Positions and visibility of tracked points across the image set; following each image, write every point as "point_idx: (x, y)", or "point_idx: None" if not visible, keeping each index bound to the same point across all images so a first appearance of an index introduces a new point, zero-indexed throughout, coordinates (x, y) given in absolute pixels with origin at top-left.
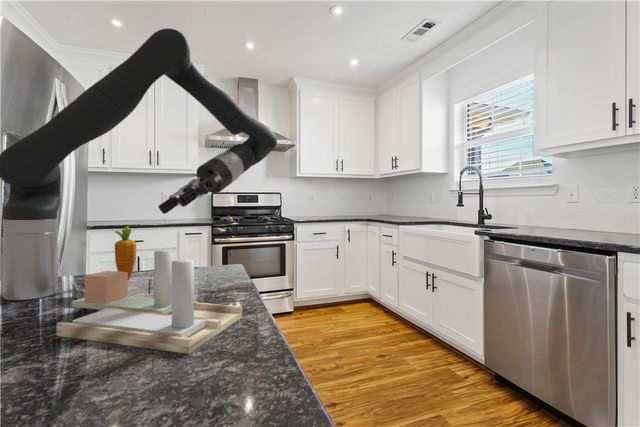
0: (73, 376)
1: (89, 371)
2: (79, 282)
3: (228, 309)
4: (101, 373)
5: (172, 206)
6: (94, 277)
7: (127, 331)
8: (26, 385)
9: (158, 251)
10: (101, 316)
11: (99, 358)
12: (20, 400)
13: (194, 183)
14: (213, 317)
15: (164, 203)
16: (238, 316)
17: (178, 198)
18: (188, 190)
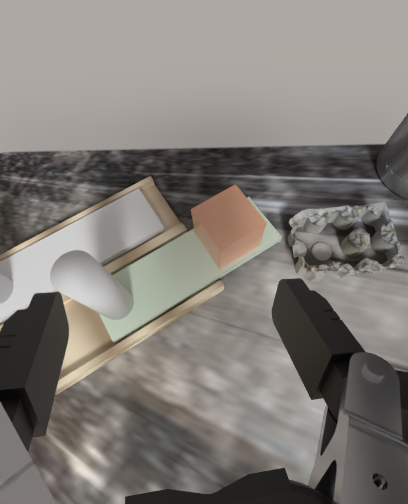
0: (23, 188)
1: (21, 199)
2: (385, 216)
3: None
4: (7, 206)
5: (299, 359)
6: (214, 196)
7: (46, 231)
8: (39, 161)
9: (83, 260)
10: (128, 216)
11: (44, 210)
12: (15, 158)
13: (5, 486)
14: None
15: (295, 304)
16: None
17: (41, 293)
18: (18, 371)
